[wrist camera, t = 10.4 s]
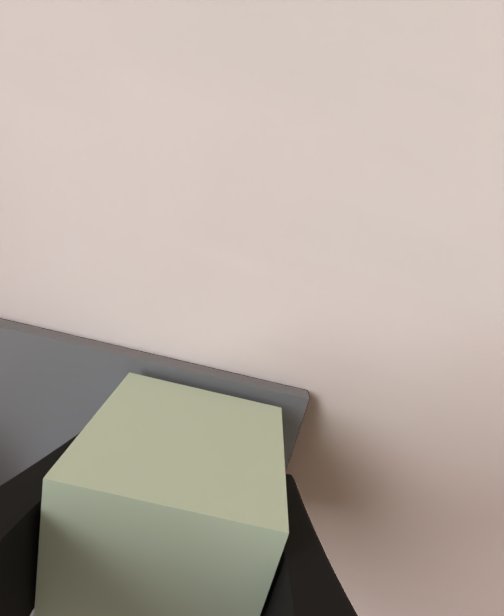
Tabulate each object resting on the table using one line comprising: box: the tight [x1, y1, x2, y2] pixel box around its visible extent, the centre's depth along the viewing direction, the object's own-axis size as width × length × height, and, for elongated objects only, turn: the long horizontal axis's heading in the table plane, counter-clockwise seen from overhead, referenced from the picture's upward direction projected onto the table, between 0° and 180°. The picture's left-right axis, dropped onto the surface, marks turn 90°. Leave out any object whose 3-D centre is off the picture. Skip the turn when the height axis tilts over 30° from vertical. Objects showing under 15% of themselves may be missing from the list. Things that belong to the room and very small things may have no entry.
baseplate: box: [0, 319, 309, 616], centre depth 13 cm, size 15×17×1 cm
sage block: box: [34, 372, 289, 616], centre depth 9 cm, size 4×4×4 cm
